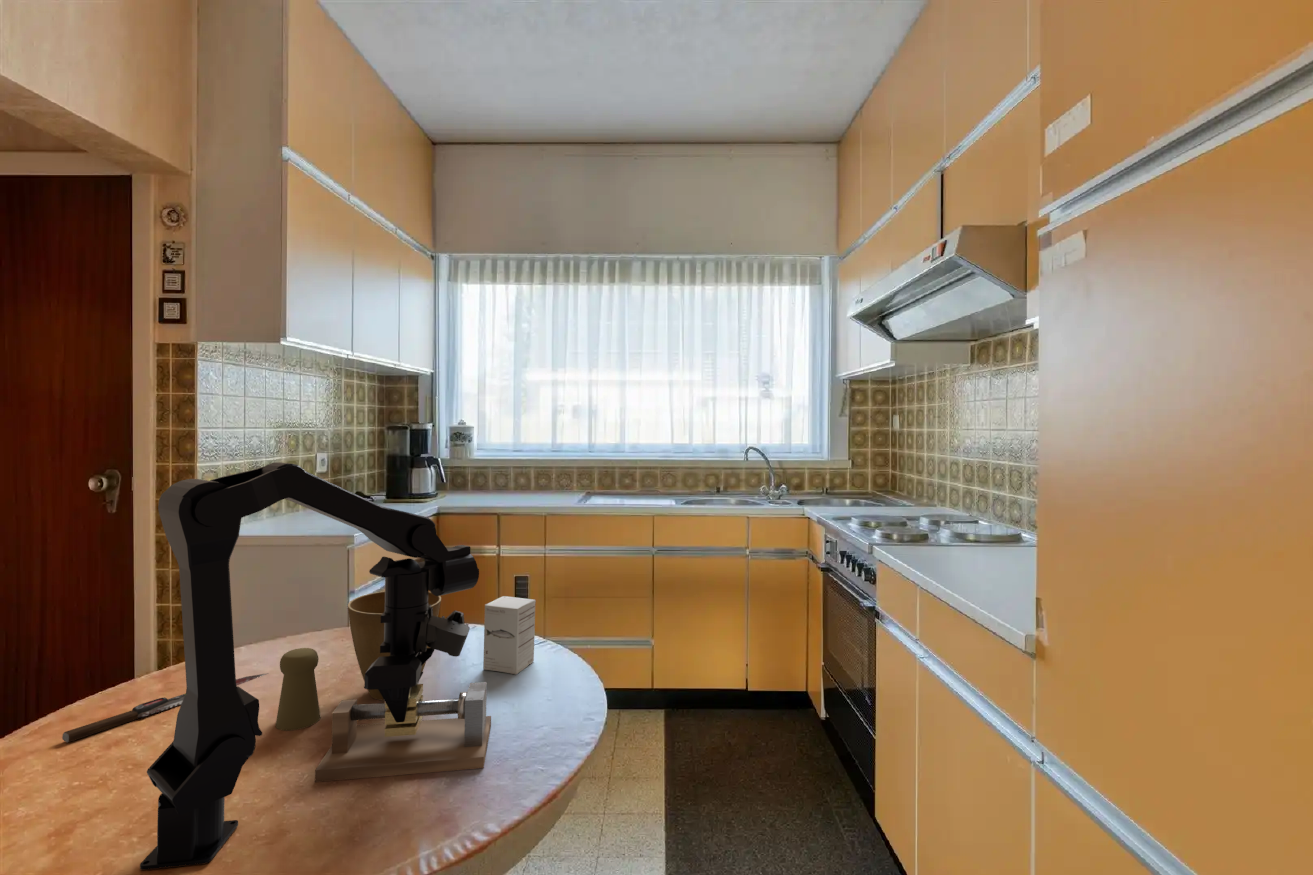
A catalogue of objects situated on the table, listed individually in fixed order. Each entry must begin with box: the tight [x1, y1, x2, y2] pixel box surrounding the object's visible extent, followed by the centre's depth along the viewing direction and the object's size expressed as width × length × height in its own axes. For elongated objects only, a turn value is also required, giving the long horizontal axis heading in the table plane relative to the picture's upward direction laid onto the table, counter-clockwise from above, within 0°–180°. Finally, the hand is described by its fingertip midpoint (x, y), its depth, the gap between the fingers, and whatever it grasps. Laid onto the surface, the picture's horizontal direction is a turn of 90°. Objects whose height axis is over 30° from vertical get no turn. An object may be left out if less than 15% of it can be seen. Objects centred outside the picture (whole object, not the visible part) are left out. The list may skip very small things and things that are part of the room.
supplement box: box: [482, 595, 537, 675], centre depth 117 cm, size 7×7×13 cm
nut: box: [384, 683, 424, 737], centre depth 85 cm, size 5×4×5 cm
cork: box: [275, 647, 321, 731], centre depth 93 cm, size 6×6×11 cm
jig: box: [314, 699, 492, 783], centre depth 85 cm, size 12×21×7 cm, turn 101°
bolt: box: [350, 681, 488, 747], centre depth 85 cm, size 6×19×6 cm, turn 101°
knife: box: [61, 672, 269, 744], centre depth 99 cm, size 3×2×30 cm
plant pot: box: [347, 590, 442, 701], centre depth 105 cm, size 15×15×16 cm
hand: (404, 712), depth 85 cm, fingers closed on nut, 5 cm apart
